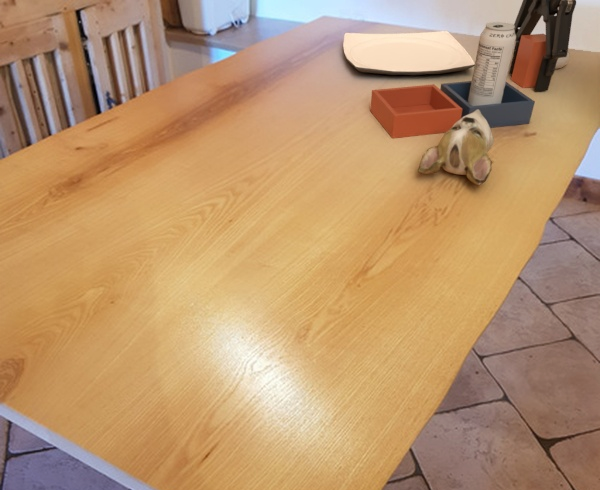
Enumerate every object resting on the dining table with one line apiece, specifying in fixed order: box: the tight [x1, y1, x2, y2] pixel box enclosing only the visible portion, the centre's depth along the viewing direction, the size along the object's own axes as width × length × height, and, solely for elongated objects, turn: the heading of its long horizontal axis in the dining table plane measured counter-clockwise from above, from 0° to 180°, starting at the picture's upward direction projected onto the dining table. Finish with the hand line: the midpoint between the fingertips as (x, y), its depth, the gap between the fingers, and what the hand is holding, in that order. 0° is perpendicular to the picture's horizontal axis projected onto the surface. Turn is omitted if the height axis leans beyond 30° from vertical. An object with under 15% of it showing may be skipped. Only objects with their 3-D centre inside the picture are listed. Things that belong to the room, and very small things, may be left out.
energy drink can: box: [468, 21, 516, 106], centre depth 99 cm, size 6×6×15 cm
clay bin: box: [370, 83, 462, 139], centre depth 101 cm, size 13×13×4 cm
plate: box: [342, 30, 475, 76], centre depth 129 cm, size 29×29×3 cm
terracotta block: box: [510, 33, 553, 89], centre depth 114 cm, size 5×5×9 cm
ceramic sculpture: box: [417, 109, 495, 186], centre depth 85 cm, size 11×9×15 cm
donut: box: [555, 50, 571, 70], centre depth 125 cm, size 10×4×10 cm
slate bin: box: [439, 80, 536, 128], centre depth 103 cm, size 13×13×4 cm
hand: (527, 81), depth 117 cm, fingers open, 10 cm apart
